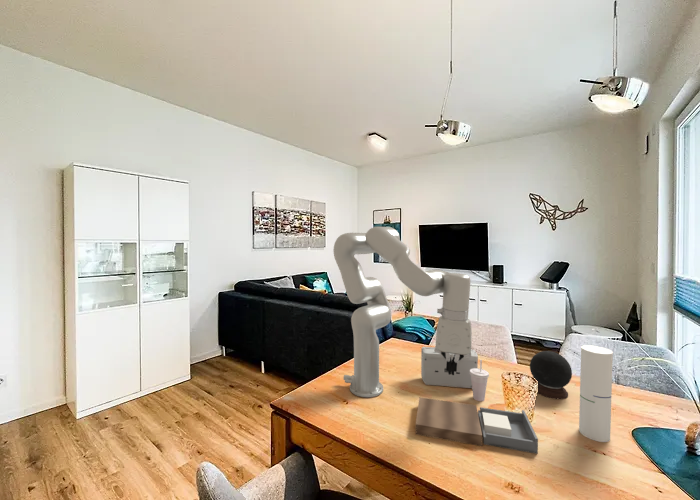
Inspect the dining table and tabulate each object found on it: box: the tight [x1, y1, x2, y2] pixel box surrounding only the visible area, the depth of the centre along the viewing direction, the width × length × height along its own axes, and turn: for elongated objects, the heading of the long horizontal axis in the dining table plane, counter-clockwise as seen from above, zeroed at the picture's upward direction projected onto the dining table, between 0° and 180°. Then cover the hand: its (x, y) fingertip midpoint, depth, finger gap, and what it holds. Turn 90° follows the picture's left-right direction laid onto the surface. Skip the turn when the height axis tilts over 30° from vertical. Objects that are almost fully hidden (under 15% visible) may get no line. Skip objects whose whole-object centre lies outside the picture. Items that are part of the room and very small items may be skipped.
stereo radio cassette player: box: [420, 334, 479, 389], centre depth 121 cm, size 21×8×20 cm, turn 80°
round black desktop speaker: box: [529, 350, 573, 400], centre depth 115 cm, size 13×13×15 cm
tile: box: [482, 412, 511, 437], centre depth 91 cm, size 7×7×2 cm
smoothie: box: [470, 359, 490, 402], centre depth 110 cm, size 6×6×14 cm
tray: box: [477, 407, 539, 455], centre depth 90 cm, size 13×14×4 cm
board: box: [415, 396, 483, 447], centre depth 95 cm, size 18×16×3 cm
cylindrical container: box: [578, 344, 614, 443], centre depth 89 cm, size 7×7×25 cm
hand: (451, 372), depth 94 cm, fingers closed
